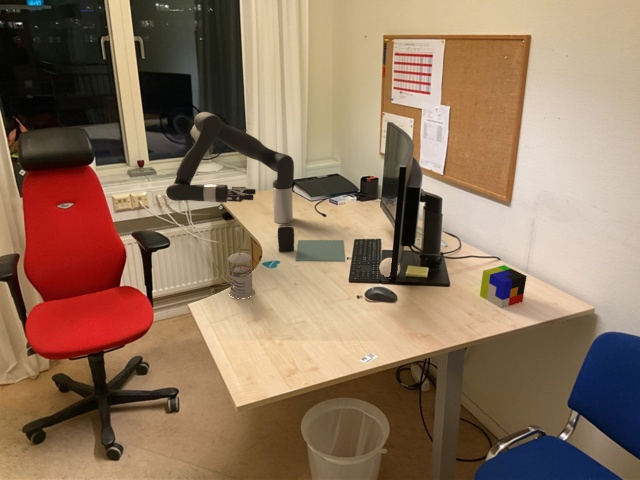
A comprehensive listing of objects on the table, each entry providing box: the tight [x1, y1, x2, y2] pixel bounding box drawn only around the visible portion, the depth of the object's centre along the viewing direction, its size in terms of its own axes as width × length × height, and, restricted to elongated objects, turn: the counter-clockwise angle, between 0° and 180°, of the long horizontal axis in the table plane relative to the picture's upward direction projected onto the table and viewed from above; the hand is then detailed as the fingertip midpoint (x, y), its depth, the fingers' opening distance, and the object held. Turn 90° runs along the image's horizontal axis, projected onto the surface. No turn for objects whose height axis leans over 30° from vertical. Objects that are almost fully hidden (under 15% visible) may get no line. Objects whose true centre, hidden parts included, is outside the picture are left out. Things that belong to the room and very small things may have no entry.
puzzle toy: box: [479, 264, 527, 309], centre depth 177 cm, size 10×10×10 cm
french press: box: [223, 227, 256, 299], centre depth 178 cm, size 10×12×25 cm
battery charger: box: [277, 224, 295, 253], centre depth 216 cm, size 7×4×11 cm, turn 94°
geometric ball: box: [378, 257, 401, 278], centre depth 193 cm, size 8×8×8 cm
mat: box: [295, 239, 345, 262], centre depth 218 cm, size 22×20×1 cm
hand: (254, 194), depth 216 cm, fingers open, 8 cm apart
